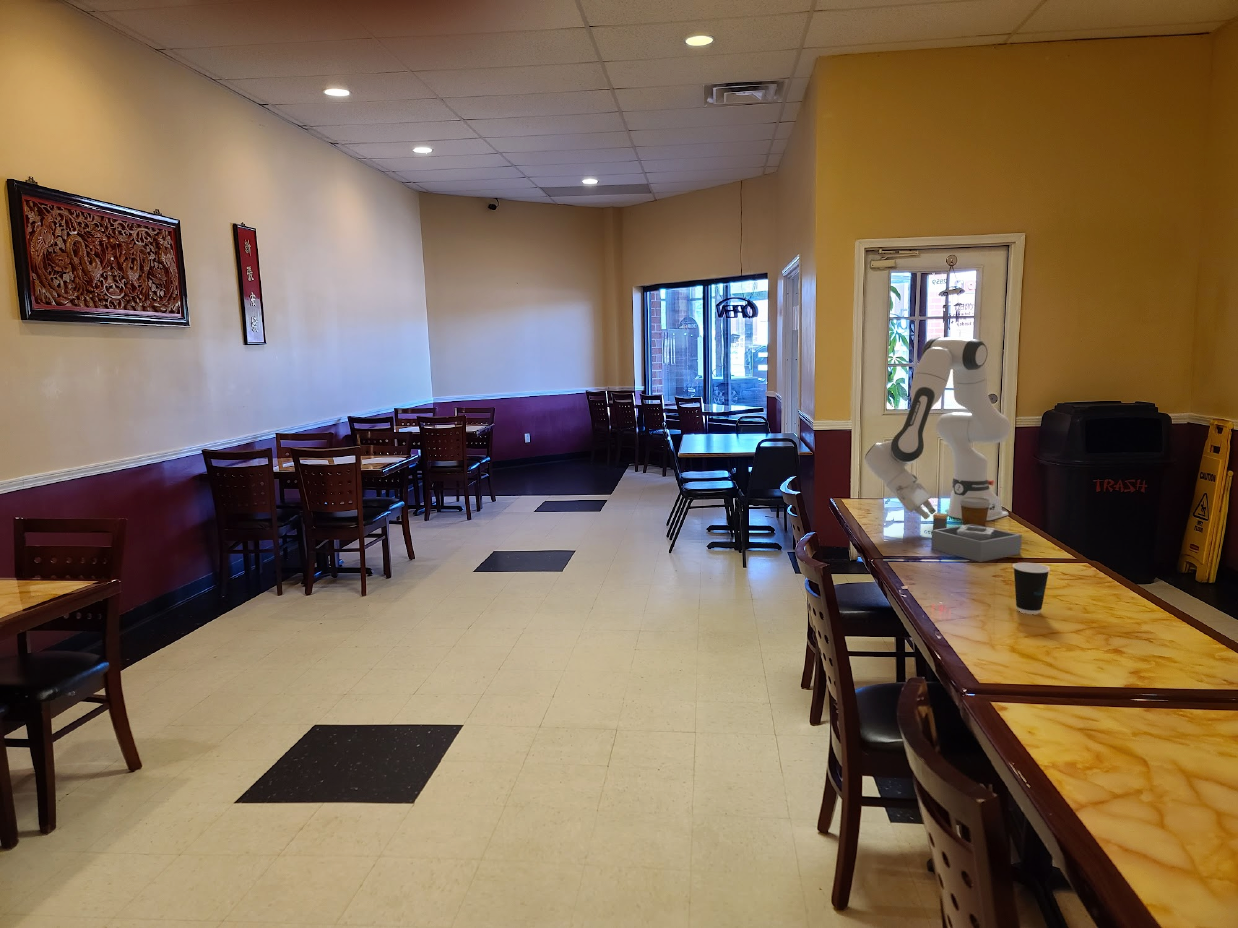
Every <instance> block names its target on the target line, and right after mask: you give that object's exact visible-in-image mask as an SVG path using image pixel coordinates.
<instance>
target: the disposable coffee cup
mask: <svg viewBox="0 0 1238 928" xmlns="http://www.w3.org/2000/svg"><path fill="white" fill-rule="evenodd" d="M960 505H961V512H962V519H961V521H962V525H967V524H974V525H979V526H983V527H986V524H987V520H986V519H987V514H988V509H989V506H990V503H989V500H988V499H985V498H979V497H964V498H961V501H960Z"/></svg>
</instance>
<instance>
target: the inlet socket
mask: <svg viewBox="0 0 1238 928" xmlns="http://www.w3.org/2000/svg"><path fill="white" fill-rule="evenodd" d="M961 525H962V526H961ZM961 525H960V526H961V527H960V528H959V529H958V530H957V536H961V537H965V538H970V539H974V540H978V541H984V540H990V539H995V529H996V528H995V527H988V526H985V527H979V526H969V525H963V524H961Z"/></svg>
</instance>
